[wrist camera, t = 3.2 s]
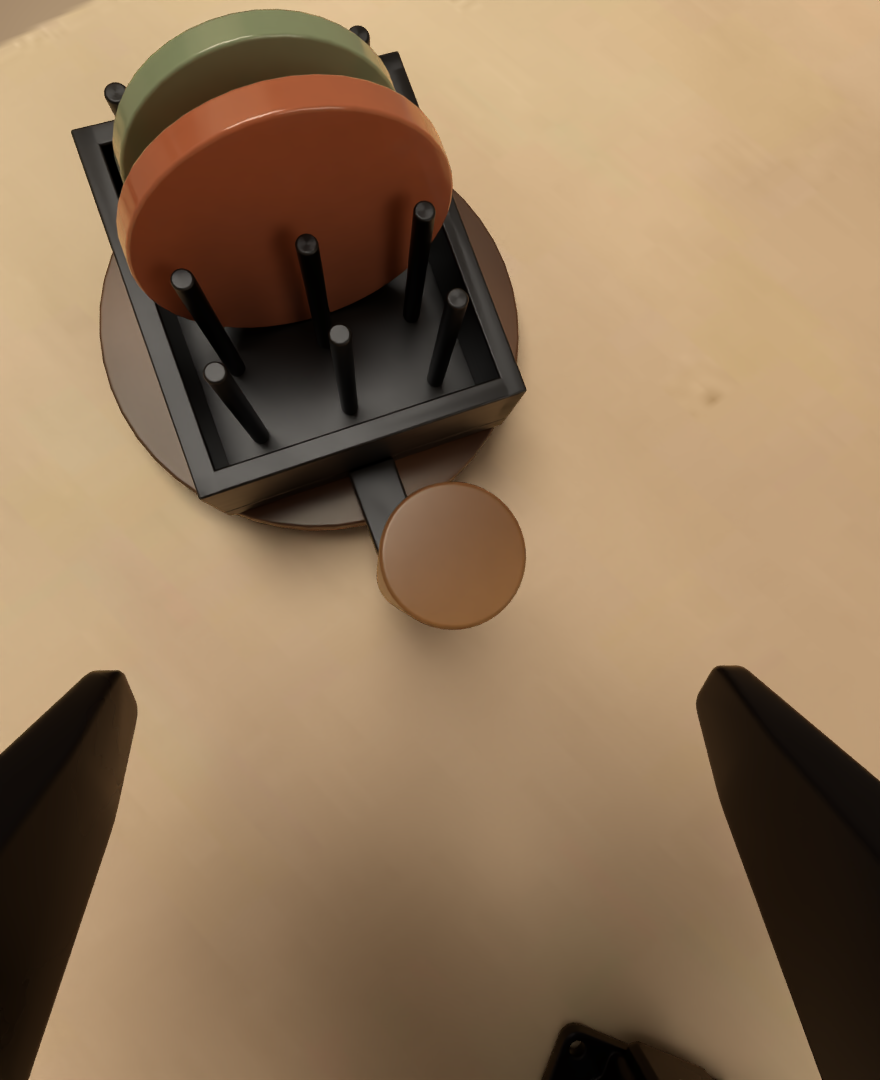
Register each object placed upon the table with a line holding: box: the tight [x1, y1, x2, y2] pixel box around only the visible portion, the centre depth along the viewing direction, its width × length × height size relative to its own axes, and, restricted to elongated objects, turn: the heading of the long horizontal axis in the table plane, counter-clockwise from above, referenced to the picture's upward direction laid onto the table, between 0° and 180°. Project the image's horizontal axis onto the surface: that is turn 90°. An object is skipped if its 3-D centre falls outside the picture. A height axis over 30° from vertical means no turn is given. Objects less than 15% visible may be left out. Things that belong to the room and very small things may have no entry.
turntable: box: [100, 189, 519, 531], centre depth 20 cm, size 13×13×2 cm
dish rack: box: [71, 9, 526, 630], centre depth 13 cm, size 14×9×10 cm, turn 20°
